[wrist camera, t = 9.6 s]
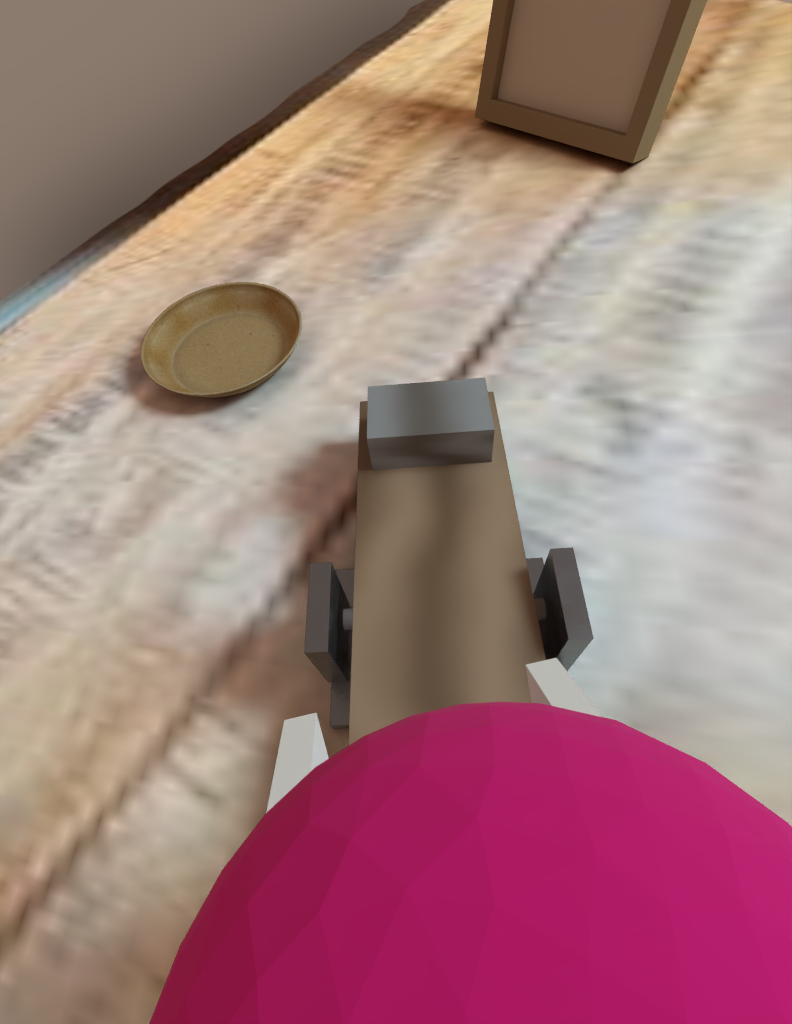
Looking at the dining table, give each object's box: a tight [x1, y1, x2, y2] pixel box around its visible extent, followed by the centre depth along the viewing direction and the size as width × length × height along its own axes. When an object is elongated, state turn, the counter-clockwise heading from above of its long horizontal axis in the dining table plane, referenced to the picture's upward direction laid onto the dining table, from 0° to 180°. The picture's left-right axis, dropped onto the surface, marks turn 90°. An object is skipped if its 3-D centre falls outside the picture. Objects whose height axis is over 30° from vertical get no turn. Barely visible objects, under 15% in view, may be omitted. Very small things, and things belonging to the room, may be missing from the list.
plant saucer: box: [141, 282, 302, 397], centre depth 49 cm, size 15×15×3 cm
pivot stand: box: [304, 548, 593, 728], centre depth 31 cm, size 14×10×7 cm
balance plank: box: [343, 378, 546, 745], centre depth 28 cm, size 11×35×4 cm, turn 2°
